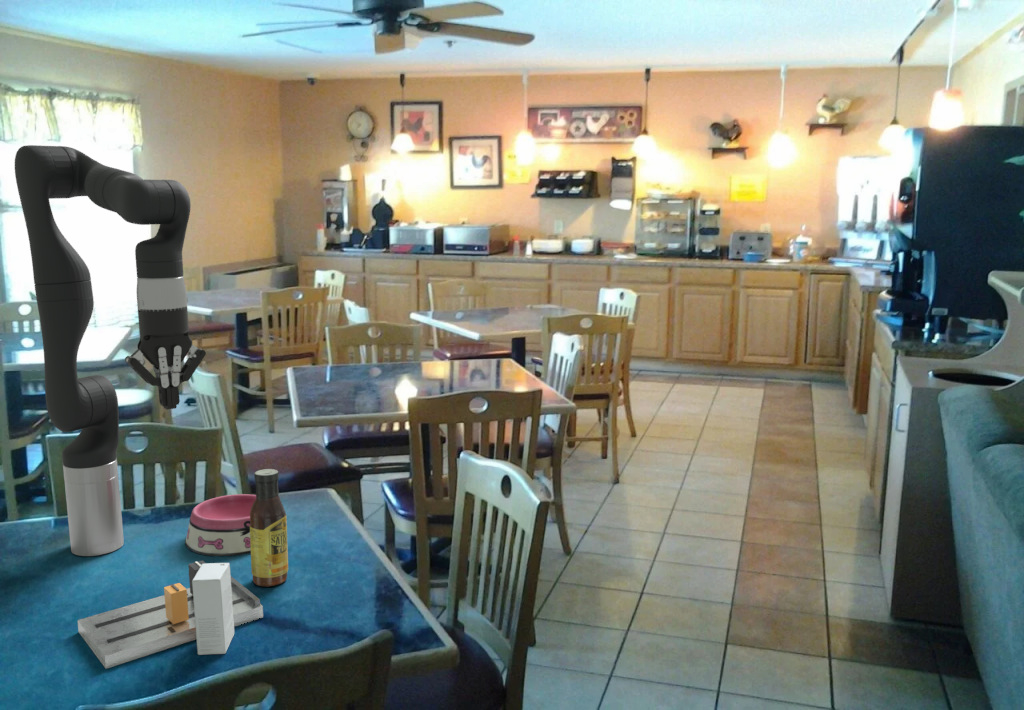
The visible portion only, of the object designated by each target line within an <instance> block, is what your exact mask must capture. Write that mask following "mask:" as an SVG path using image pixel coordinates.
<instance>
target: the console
mask: <svg viewBox="0 0 1024 710" xmlns="http://www.w3.org/2000/svg"><path fill="white" fill-rule="evenodd" d="M186 589H187V602H188V616H189V620H186V621H182V622H179V623H176V624H172V623H171V622H170V621H169V620H168V619H167V618H166V608H165V595H160V596H157V597H152V598H150V599H146V600H143V601H140V602H136V603H132V604H129V605H126V606H122V607H119V608H115V609H112V610H108V611H105V612H101V613H97V614H93V615H92V616H91V615H90V616H87V617H84V618H80V619H78V620H77V628H78V629H77V630H78V633H79V634H80V636H81V638H82V639H83V640H84V641H85V643H86V644H87V645H88V647H89V649H90V650H91V651H92V652H93V654H94V655H95V656H96V658H97V659H98V660H99V662H100V663H101V665H103V667H104V668H105V669H106V670H107V669H110V668H112V667H116V666H119V665H122V664H125V663H128V662H131V661H132V662H133V661H134V660H138V659H140V658H144V657H147V656H149V655H150V656H151V655H153V654H155V653H158V652H161V651H165V650H167V649H171V648H174V647H177V646H180V645H182V644H185V643H189V642H192V641H195V640H196V641H197V638H196V625H195V612H194V599H193V595H192V594H191V593H190V587H188V588H186ZM231 590H232V605H233V619H234V628H235V627H238V626H241V624H242V625H244V623H245V624H247V622H248V623H250V622H254V621H256V620H257V621H258V620H260V619H263V618H264V606H263V605H262V604H261V600H260V598H259V597H257V596H256V595H255V594H254V593H253V592H252V591H250V590H249V589H248V588H246V587H245V586H244V585H243V584H242V583H240V582H239V581H238V580H237V579H235V578H234V577H233V576H232V575H231ZM259 618H260V619H259ZM253 620H254V621H253Z"/></svg>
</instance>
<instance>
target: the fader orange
mask: <svg viewBox="0 0 1024 710" xmlns="http://www.w3.org/2000/svg"><path fill="white" fill-rule="evenodd" d="M163 593H164V595H165V608H166V618H167V619H168V620H169V621H170V622H171V623H172V624H176V623H179V622H182V621H186V620H189V616H188V602H187V588H186V587H185V586H184V585H182V584H181V583H180V582H178V583H172V584H170V585H167V586H164V587H163Z"/></svg>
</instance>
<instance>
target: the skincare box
mask: <svg viewBox="0 0 1024 710" xmlns="http://www.w3.org/2000/svg"><path fill="white" fill-rule="evenodd" d="M205 563H206V564H202V565H201V567H200V568H199V570H198V572H197V574H196V575H195V577H194V579H193V580H192V586H193V599H194V612H195V625H196V638H197V639H196V650H197V655H198V656H203V655H224V654H226V653H227V650H228V648H229V646H230V644H231V642H232V640H233V638H234V635H235V627H234V619H233V605H232V590H231V576H232V575H231V565H230V562H214V563H213V562H210V563H207V562H205Z"/></svg>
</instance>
